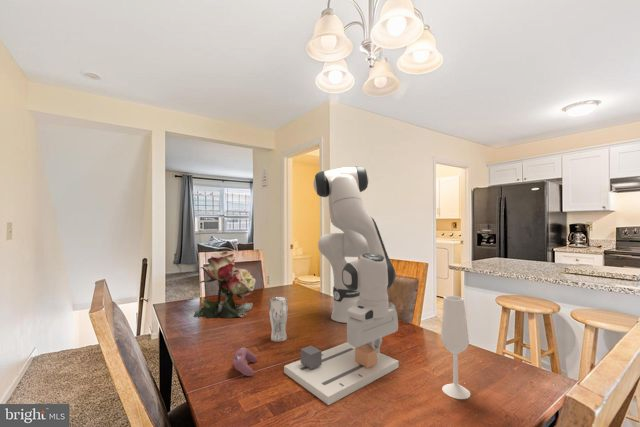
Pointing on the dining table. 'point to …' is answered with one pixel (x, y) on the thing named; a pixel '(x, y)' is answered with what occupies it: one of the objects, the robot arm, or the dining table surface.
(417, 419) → the dining table surface
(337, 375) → the fader panel
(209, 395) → the dining table surface
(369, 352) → the block
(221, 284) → the rose bouquet
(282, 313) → the beer glass
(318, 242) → the robot arm
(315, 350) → the block
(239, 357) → the video game controller
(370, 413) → the dining table surface
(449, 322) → the champagne flute
